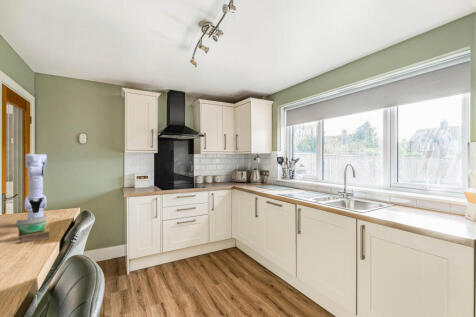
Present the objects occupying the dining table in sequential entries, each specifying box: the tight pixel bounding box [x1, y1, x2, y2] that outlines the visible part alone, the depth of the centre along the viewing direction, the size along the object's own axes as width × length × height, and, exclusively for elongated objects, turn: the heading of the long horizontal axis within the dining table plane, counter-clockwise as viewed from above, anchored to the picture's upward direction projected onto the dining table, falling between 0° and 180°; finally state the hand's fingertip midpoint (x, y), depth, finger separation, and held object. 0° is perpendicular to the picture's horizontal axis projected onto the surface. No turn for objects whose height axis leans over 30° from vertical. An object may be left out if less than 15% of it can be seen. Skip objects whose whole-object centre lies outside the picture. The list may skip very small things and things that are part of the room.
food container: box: [15, 214, 48, 241], centre depth 114 cm, size 12×6×10 cm, turn 154°
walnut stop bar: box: [20, 230, 50, 244], centre depth 110 cm, size 3×10×3 cm, turn 132°
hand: (35, 212), depth 123 cm, fingers closed
